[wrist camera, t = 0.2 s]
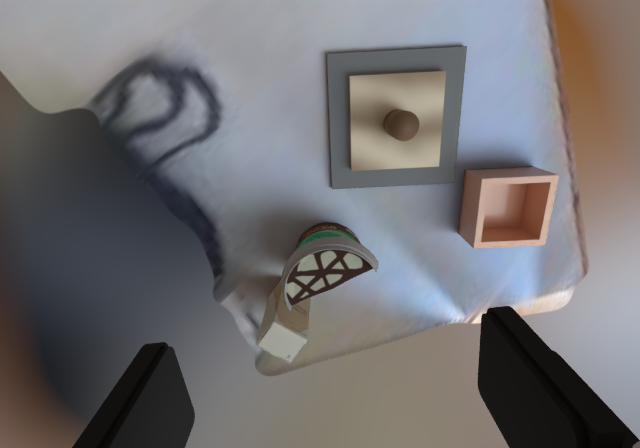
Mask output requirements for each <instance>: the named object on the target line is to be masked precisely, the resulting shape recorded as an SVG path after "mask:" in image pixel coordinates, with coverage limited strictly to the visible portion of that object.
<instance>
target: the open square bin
mask: <svg viewBox="0 0 640 448" xmlns="http://www.w3.org/2000/svg"><path fill="white" fill-rule="evenodd" d="M558 178H559V175H557V174H554V173H551V172H548V171H545V170H542V169H539V168H536V167H516V168H497V169H477V170H465V173H464V183H463V193H462V202H461V212H460V222H459V231H458V234H459V235H460V236H461V237H462V238H463V239H464V240H465V241H466V242H468V243H469V244H470V245H471V246H472V247H473V248H495V247H515V246H535V245H545V242H546V237H547V232H548V227H549V222H550V217H551V213H552V208H553V203H554V198H555V193H556V188H557V183H558Z"/></svg>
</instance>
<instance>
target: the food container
mask: <svg viewBox="0 0 640 448" xmlns="http://www.w3.org/2000/svg"><path fill="white" fill-rule="evenodd" d="M373 268H374V270H375V271H376V273H377V270H376V269H378V261H377V259H376V258H375V256H374V255H373V254H372V253H371V252H370V251H369V250H368V249H367V248H366V247H364V246H363V245H361V243H360V242H359V240H358V238H357V237H356V235H355V234H354V233H353V232H352V231H350V230H349V229H348V228H347V227H344V226H342V225H340V224H337V223H327V222H326V223H321V224H317V225H314V226H312V227H311V228H309V229H308V230H306V231H305V232H304V233H303V235H302V236H301V238H300V239H299V241H298V244H297V247H296V250H295V252H294V253H293V254H292V255H291V256H290V257H289V259H288V261H287V262H286V264H285V267H284V269H283V273H282V278H281V286H282V292H283V297H284V300H285V303H286V305H287V307H288V309H289V310H290V311H291V309H292V305H294V304H297V303H299V302H301V301H303V300H305V299H307V298H309V297H312V296H314V295H317V294H320V293H322V292H325V291H328V290H330V289H333V288H335V287H337V286H338V285H340V284H342V283H344V282H346V281H348V280H349V279H351V278H353V277H356V276H358V275H360V274H362V273H364V272H367V271H369V270H371V269H373Z"/></svg>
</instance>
